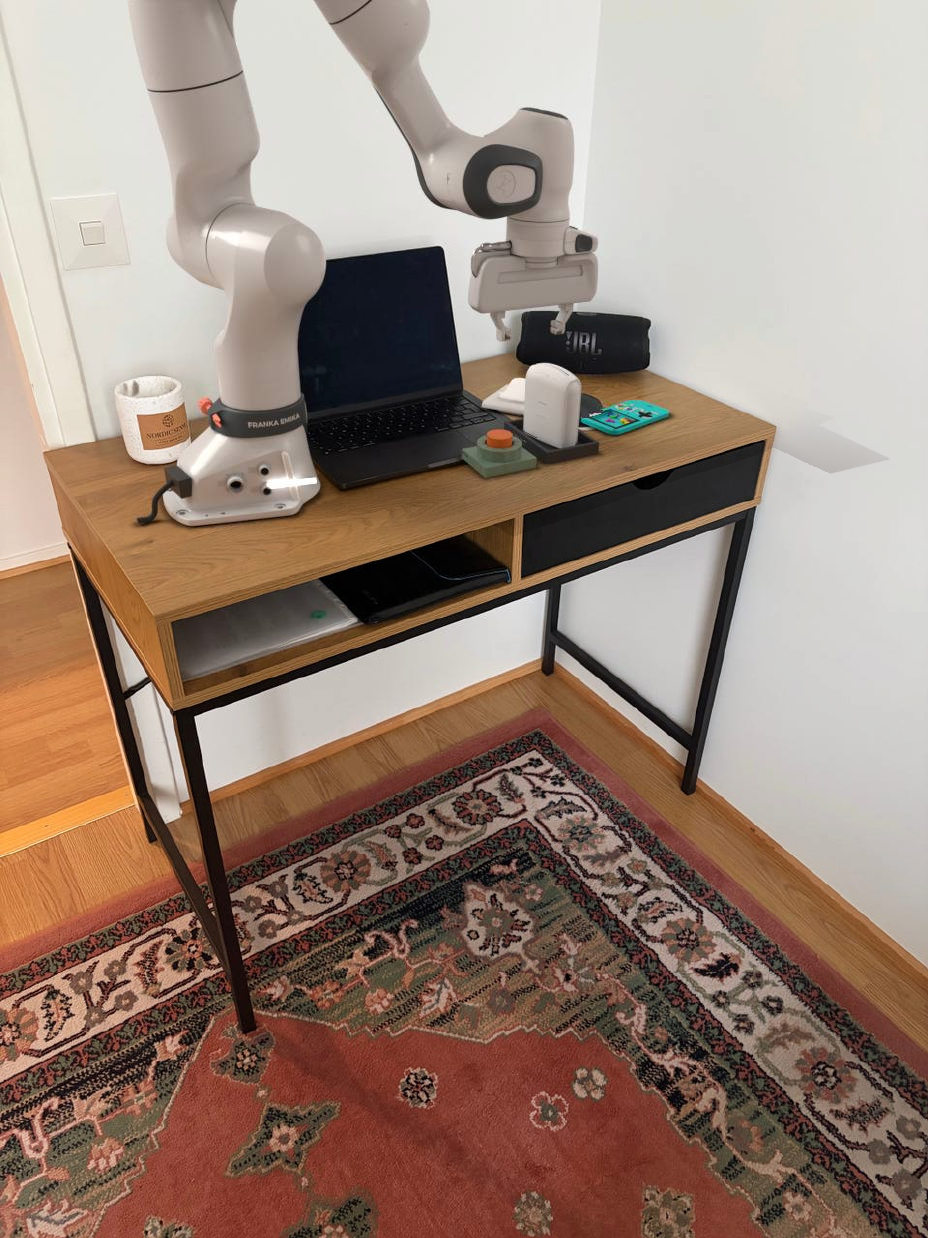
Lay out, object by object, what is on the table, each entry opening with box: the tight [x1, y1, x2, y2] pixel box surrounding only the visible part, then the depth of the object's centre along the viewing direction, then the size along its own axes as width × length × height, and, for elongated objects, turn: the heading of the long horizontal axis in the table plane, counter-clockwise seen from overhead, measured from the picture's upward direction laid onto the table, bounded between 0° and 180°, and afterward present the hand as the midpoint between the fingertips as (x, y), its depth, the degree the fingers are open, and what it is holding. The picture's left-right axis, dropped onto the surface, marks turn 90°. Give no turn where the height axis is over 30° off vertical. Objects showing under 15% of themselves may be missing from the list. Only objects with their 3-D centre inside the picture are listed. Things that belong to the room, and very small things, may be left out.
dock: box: [503, 417, 600, 465], centre depth 149 cm, size 10×14×2 cm
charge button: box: [486, 428, 513, 449], centre depth 141 cm, size 4×4×2 cm
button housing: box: [461, 434, 538, 479], centre depth 142 cm, size 9×8×4 cm
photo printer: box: [523, 362, 582, 449], centre depth 146 cm, size 10×4×12 cm, turn 39°
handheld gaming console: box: [580, 399, 670, 436], centre depth 159 cm, size 8×1×15 cm
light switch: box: [481, 377, 526, 416], centre depth 163 cm, size 11×4×13 cm
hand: (530, 336), depth 136 cm, fingers open, 8 cm apart
